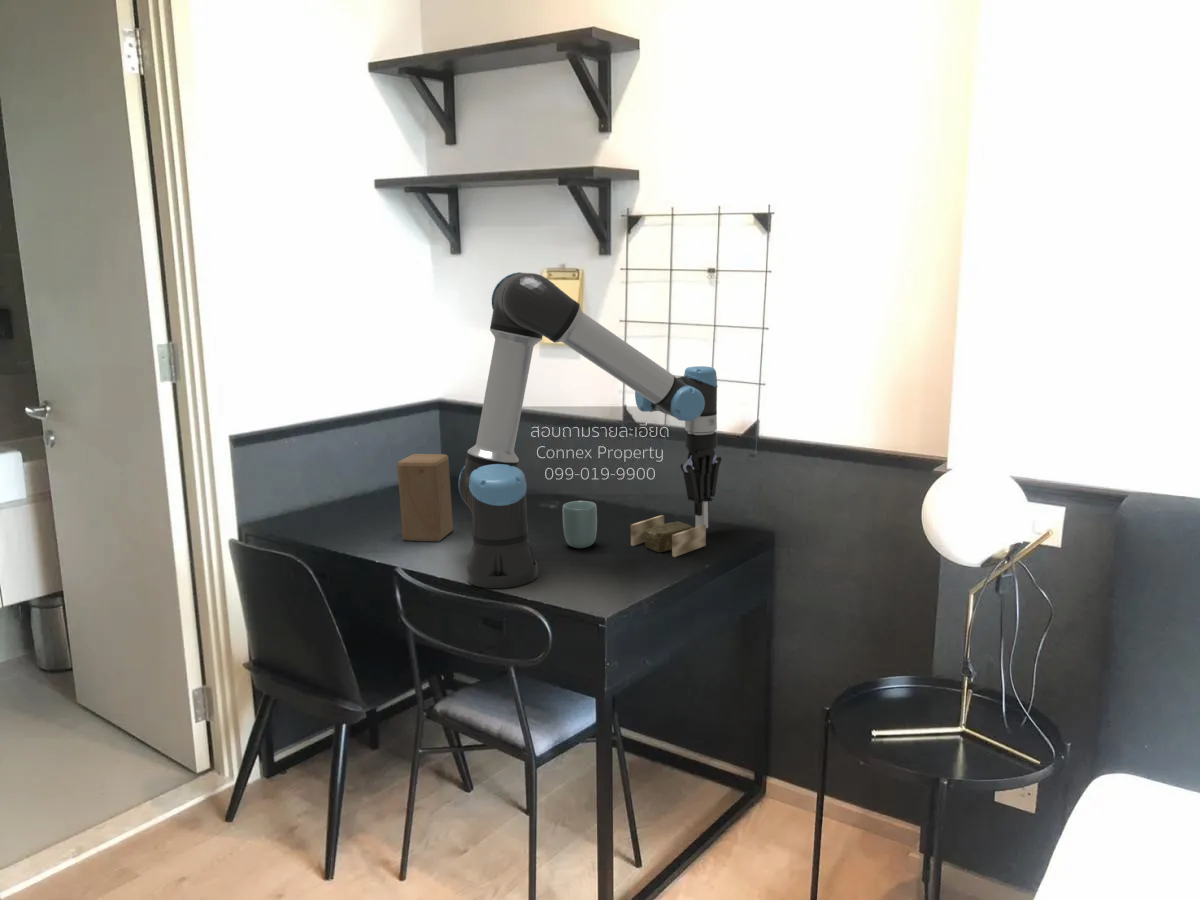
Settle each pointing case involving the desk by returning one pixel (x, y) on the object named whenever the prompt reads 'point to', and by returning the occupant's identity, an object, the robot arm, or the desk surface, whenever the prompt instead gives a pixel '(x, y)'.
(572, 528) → the cup
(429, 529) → the wooden block
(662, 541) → the stone block
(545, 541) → the desk surface
